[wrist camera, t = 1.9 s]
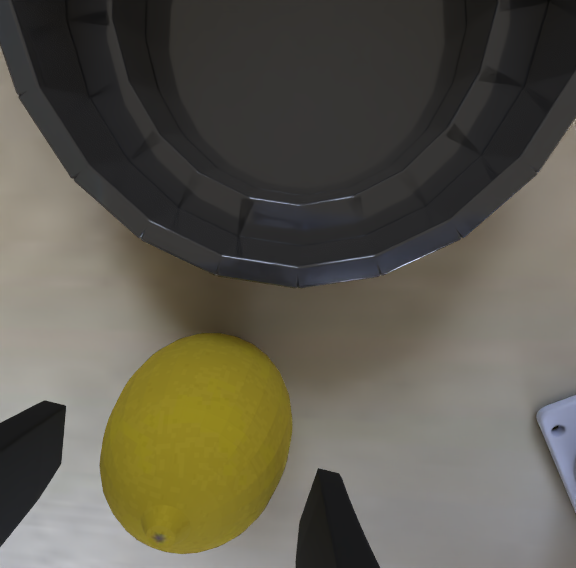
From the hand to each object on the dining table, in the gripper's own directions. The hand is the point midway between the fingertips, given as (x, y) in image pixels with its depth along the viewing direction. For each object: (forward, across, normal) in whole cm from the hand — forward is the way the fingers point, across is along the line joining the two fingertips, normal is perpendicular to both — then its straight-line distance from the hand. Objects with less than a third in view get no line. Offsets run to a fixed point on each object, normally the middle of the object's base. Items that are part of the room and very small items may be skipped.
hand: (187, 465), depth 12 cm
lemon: (+6, 0, 0) cm, 6 cm away
